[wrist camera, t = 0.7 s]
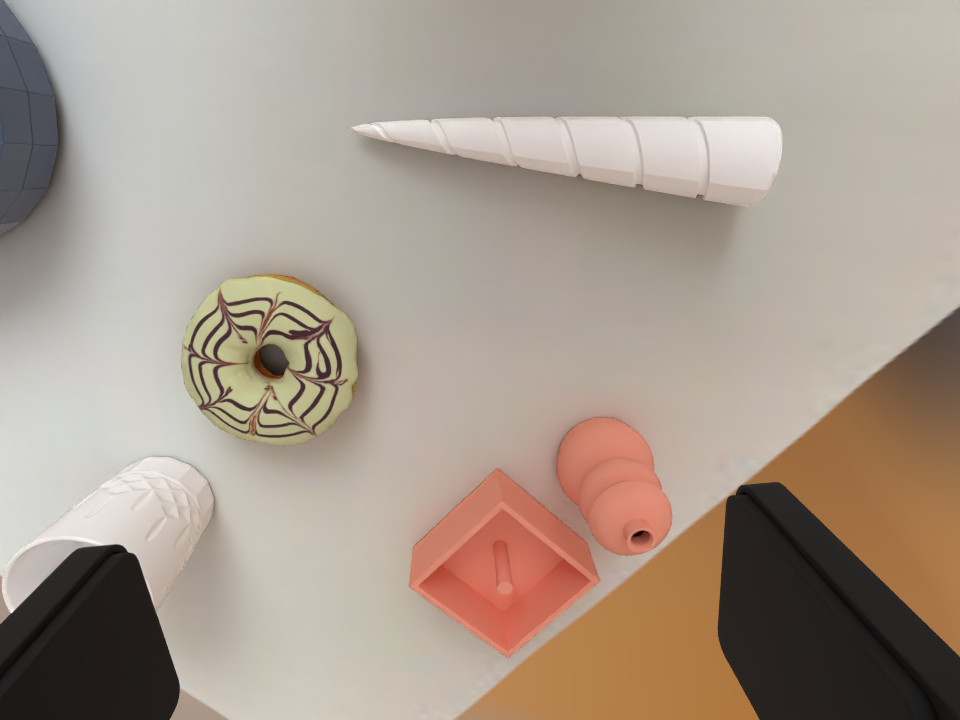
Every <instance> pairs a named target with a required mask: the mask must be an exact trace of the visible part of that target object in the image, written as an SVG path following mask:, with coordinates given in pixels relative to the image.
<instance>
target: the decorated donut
mask: <svg viewBox="0 0 960 720" xmlns="http://www.w3.org/2000/svg"><path fill="white" fill-rule="evenodd" d="M268 344H274V345H277V346H278V347H280V348H281V349H282V351H283V352H284V354H285V357H286V359H287V360H288V361H289V365H288V367H287V369H286V370H285V373H284V374H283V375H278V376H275V375H273V374H272V373H271V372H269V371H268V370H267V369H265V368H264V367H263V363H261V362H260V361H261V359H260V349H261V348H262V347H263V346H265V345H268ZM356 347H357V336H356V329H355V327H354V325H353V323H352V321H351V320H350V319H349V317H348V316H347V315H346V314H345V313H344V312H343V311H342V310H340V309H338V308H336V307H335V306H334V305H333V304H332V303H331V302H330V301H329V300H328V299H327V298H326V297H324V296H323V295H321V294H320V293H319V292H318V291H317V290H315V289H314V288H312V287H311V286H309V285H307V284H306V283H304V282H302V281H300V280H297V279H295V278H294V277H287V276H282V275H255V276H251V277H247V278H245V279H229V280H227V281H225V282H223V283H222V284H221V285H220V286H219V287H218V288H217V289H216V290H215V291H213V292H212V293H211V294H210V295H209V296H207V297H206V298H205V299H204V301H203V302H202V303H201V305H200V306H199V307H198V310H197V312H196V313H195V314H194V315H193V317H192V319H191V321H190V323H189V325H188V326H187V328H186V332H185V335H184V339H183V344H182V357H181V368H182V372H183V376H184V384H185V386H186V389H187V391H188V393H189V395H190V397H191V398H192V399H193V400H194V401H195V403H196V404H197V406H198V407H199V409H200V410H201V412H202V413H203V414H204V415H205V416H206V417H207V418H208V419H210V420H211V421H212V423H213V424H214V425H215V426H217V427H219V428H220V429H222V430H224V431H225V432H228V433H230V434H232V435H234V436H236V437H237V438H241V439H245V440H250V441H254V442H263V443H267V444H273V445H281V446H284V445H297V444H301V443H303V442H305V441H308V440H310V439H312V438H314V437H317V436H319V435H320V434H321V433H322V432H324V431H325V430H326V429H328V428H329V427H330V426H331V425H332V424H333V423H334V422H335V421H336V419H337V417H338V416H339V415H340V414H341V413H342V412H343V411H345V410H346V409H347V408H348V407H349V405H350V402H351V401H352V398H353V395H354V392H355V383H356V379H357V378H358V368H357V366H358V364H357V358H356V355H357V350H356Z"/></svg>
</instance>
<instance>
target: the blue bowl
mask: <svg viewBox="0 0 960 720" xmlns="http://www.w3.org/2000/svg"><path fill="white" fill-rule="evenodd" d="M58 145H59V142H58V130H57V118H56V106H55V97H54V93H53V91H52V88H51V86H50V83H49V80H48V78H47V75H46V72H45V70H44V67H43V64H42V62H41V59H40V57H39V54H38V51H37V49H36V46H34V43H33V42H32V40H31V39H30V38H29V36H28V35H27V33H26V32H25V30H24V29H23V28H22V26H21V25H20V23H19V22H18V20H17V19H16V18H15V16H14V15H13V13H12V12H11V10H10V9H9V8H8V6H7V5H6V3H5V2H4V0H0V235H2V234H3V233H5V232H7V231H8V230H10V229H12V228H13V227H15V226H17V225H18V224H20V223H22V222H23V221H24V220H25V219H26V218H27V216H28V215H29V214H30V212H31V211H32V210H33V208H34V207H35V206H36V204H37V203H38V201H39V200H40V199H41V197H42V196H43V195H44V193H45V192H46V190H47V189H48V186H49V182H50V178H51V174H52V170H53V166H54V162H55V158H56V154H57V150H58Z"/></svg>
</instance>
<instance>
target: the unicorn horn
mask: <svg viewBox="0 0 960 720" xmlns="http://www.w3.org/2000/svg"><path fill="white" fill-rule="evenodd" d="M351 130H352V131H353V132H356V133H359V134H362V135H364V136H368V137H372V138H376V139H380V140H384V141H388V142H393V143H396V142H397V143H399V144H402V145H406V146H411V147H416V148H421V149H426V150H430V151H436V152H441V153H446V154H451V155H455V154H457V155H459V156H461V157H466V158H472V159H477V160H482V161H487V162H493V163H498V164H504V165H509V166H517V165H520V166H521V167H522V168H526V169H531V170H536V171H542V172H548V173H553V174H559V175H565V176H571V177H576V176H577V175H578V174H581V175H582V177H583V178H584V179H588V180H593V181H599V182H605V183H610V184H616V185H622V186H628V187H634V188H635V187H636V184H642V185H643V188H644V189H645V190H651V191H657V192H663V193H669V194H674V195H680V196H685V197H691V198H696V196H697V194H699V195H703V200H708V201H714V202H720V203H726V204H731V205H739V206H752V205H754V204H756V203H757V202H759V201H760V200H762V199H763V198H764V197H765V196H766V194H767V193H768V191H769V190H770V189H771V187H772V184H773V182H774V179H775V177H776V175H777V172H778V168H779V164H780V159H781V155H782V134H781V128H780V126H779V125H778V124H777V123H776V122H775V121H774V120H773V119H772V118H770V117H762V116H752V117H690V118H684V117H628V116H626V117H619V118H617V117H616V116H595V117H558V118H556V119H555V120H554V119H553V118H552V117H497V118H494V119H493V120H490V119H489V118H451V119H434V120H432V121H431V122H429V121H428V120H426V119H425V120H405V121H390V122H377V123H371V124H363V125H358V126H354V127H352V128H351Z"/></svg>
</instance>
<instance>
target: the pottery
mask: <svg viewBox="0 0 960 720" xmlns="http://www.w3.org/2000/svg"><path fill="white" fill-rule="evenodd" d="M557 472H558V478H559V481H560V484H561V486H562V488H563V490H564V491H565V493H566V494H567V495H568V497H569V498H570V499H571V500H572V501H573V502H574V503H575V504H577V505H578V506H579V507H580V511H581V513H582V516H583V517H584V519H585V520H586V521H587V522H588V524H589V526H590V530H591V532H592V535H593V536H594V537H595V539H596V540H597V541H598V542H599V543H600V545H602V546H603V547H604V548H605V549H607V550H608V551H610V552H612V553H615V554H618V555H625V556H628V555H637V554H642V553H644V552H647V551H649V550H651V549H653V548H655V547H656V546H657V545H658V544H660V543H661V542H662V541H663V539H664V538H665V537H666V536H667V534H668V532H669V530H670V527H671V524H672V511H671V505H670V502H669V500H668V498H667V496H666V495H665V493H664V492H663V491H662V486H661V483H660V481H659V479H658V477H657V476H656V474H655V473H654V461H653V456H652V453H651V450H650V447H649V445H648V444H647V442H646V441H645V439H644V438H643V437H642V436H641V435H640V434H639V433H638V432H637V431H636V430H634V429H633V428H631V427H629V426H628V425H626V424H624V423H623V422H621V421H618V420H616V419H612V418H606V417H605V418H594V419H589V420H587V421H584V422H582V423H580V424H578V425H577V426H575V427H574V428H573V429H572V430H571V431H569V432H568V434H567V435H566V436H565V438H564V439H563V441H562V443H561V445H560V449H559V453H558V462H557ZM598 582H600V579H599V576H598V573H597V570H596V567H595V565H594V562H593V559H592V556H591V553H590V550H589V547H588V545H587V542H585V541H584V540H583V539H582V538H581V537H579V536H578V535H577V534H576V533H575V532H573V531H572V530H571V529H570V528H569V527H567V526H566V525H565V524H564V523H563V522H561V521H560V520H559V519H558V518H557V517H555V516H554V515H553V514H552V513H551V512H549V511H548V510H547V509H546V508H545V507H543V506H542V505H541V504H540V503H539V502H538V501H536V500H535V499H534V498H533V497H532V496H530V495H529V494H528V493H527V492H526V491H524V490H523V489H522V488H521V487H520V486H518V485H517V484H516V483H515V482H514V481H512V480H511V479H510V478H509V477H508V476H506V475H505V474H504V473H503V472H502V471H500V470H499V469H498V468H497V469H496V470H495V471H494V472H493V473H492V474H491V475H490V476H489V477H488V478H486V479H485V480H484V481H483V482H482V483H481V484H480V485H479V486H478V487H477V488H476V489H475V490H474V491H473V492H472V493H470V494H469V495H468V496H467V497H466V498H465V499H464V500H463V501H462V502H461V503H460V504H459V505H458V506H457V507H456V508H455V509H453V510H452V511H451V512H450V513H449V514H448V515H447V516H446V517H445V518H444V519H443V520H442V521H441V522H440V523H439V524H437V525H436V526H435V527H434V528H433V529H432V530H431V531H430V532H429V533H428V534H427V535H426V536H425V537H424V538H423V539H421V540H420V541H419V542H418V543H417V544H416V545H415V546H414V547H413V553H412V562H411V571H410V580H409V587H410V588H412V589H413V590H414V591H416V592H417V593H418V594H420V595H421V596H423V597H424V598H425V599H427V600H428V601H430V602H431V603H432V604H434V605H435V606H436V607H438V608H439V609H441V610H442V611H443V612H445V613H446V614H447V615H449V616H450V617H452V618H453V619H454V620H456V621H457V622H459V623H460V624H461V625H463V626H464V627H465V628H467V629H468V630H470V631H471V632H472V633H474V634H475V635H477V636H478V637H479V638H481V639H482V640H483V641H485V642H486V643H488V644H489V645H490V646H492V647H493V648H494V649H496V650H497V651H499V652H500V653H501V654H503V655H504V656H505V657H507V658H509V657H510V656H511V655H512V654H513V653H515V652H516V651H517V650H518V649H519V648H521V647H522V646H523V645H524V644H525V643H527V642H528V641H529V640H530V639H531V638H533V637H534V636H535V635H536V634H537V633H539V632H540V631H541V630H542V629H543V628H545V627H546V626H547V625H548V624H549V623H551V622H552V621H553V620H554V619H555V618H557V617H558V616H559V615H560V614H561V613H563V612H564V611H565V610H566V609H567V608H569V607H570V606H571V605H572V604H573V603H574V602H576V601H577V600H578V599H579V598H580V597H582V596H583V595H584V594H585V593H586V592H588V591H589V590H590V589H591V588H592V587H594V586H595V585H596V584H597V583H598Z"/></svg>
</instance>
